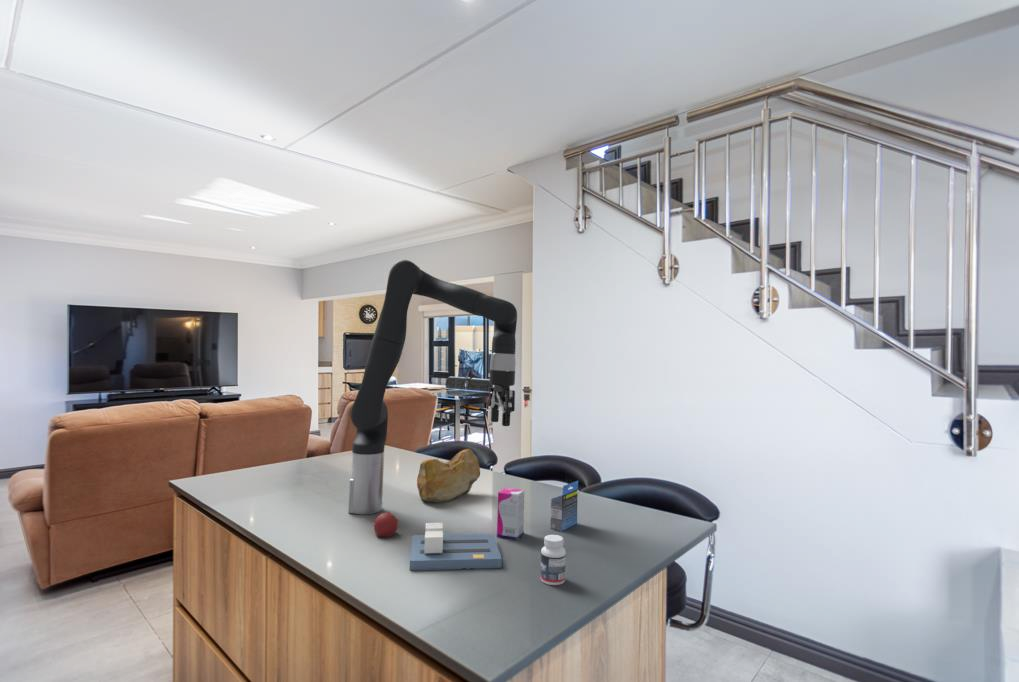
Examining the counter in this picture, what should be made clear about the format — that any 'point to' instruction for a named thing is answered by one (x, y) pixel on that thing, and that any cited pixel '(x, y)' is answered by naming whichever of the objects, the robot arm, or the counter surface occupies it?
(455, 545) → the switch panel
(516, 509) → the supplement box
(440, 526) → the far tab
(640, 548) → the counter surface
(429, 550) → the near tab
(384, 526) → the red bulb syringe
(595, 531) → the counter surface
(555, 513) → the label tape cartridge
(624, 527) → the counter surface
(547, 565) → the pill bottle
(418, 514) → the counter surface
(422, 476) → the stone
